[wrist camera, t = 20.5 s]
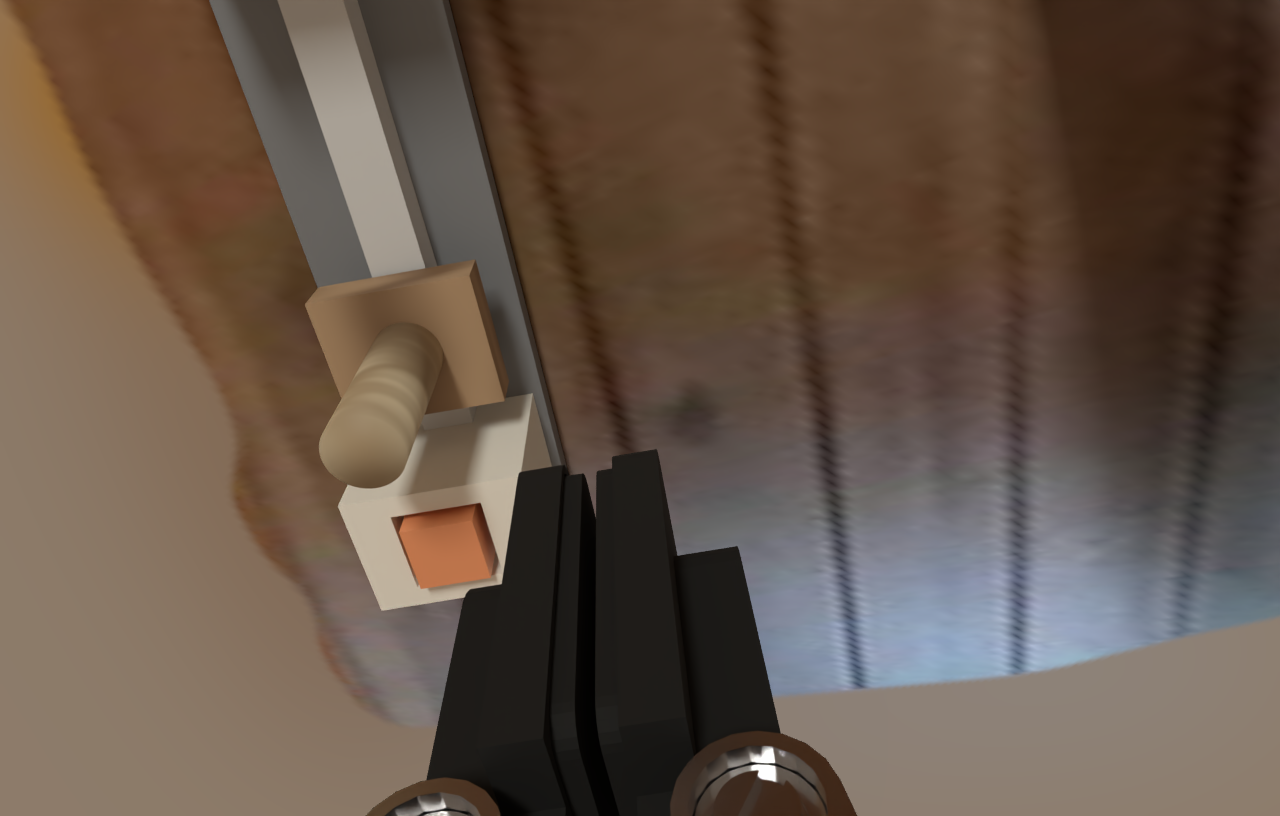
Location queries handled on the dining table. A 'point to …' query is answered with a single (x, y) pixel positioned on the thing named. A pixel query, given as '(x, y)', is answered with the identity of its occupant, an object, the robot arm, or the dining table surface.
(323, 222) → the rail base
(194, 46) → the dining table surface
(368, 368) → the carriage
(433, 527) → the block
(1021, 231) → the dining table surface
